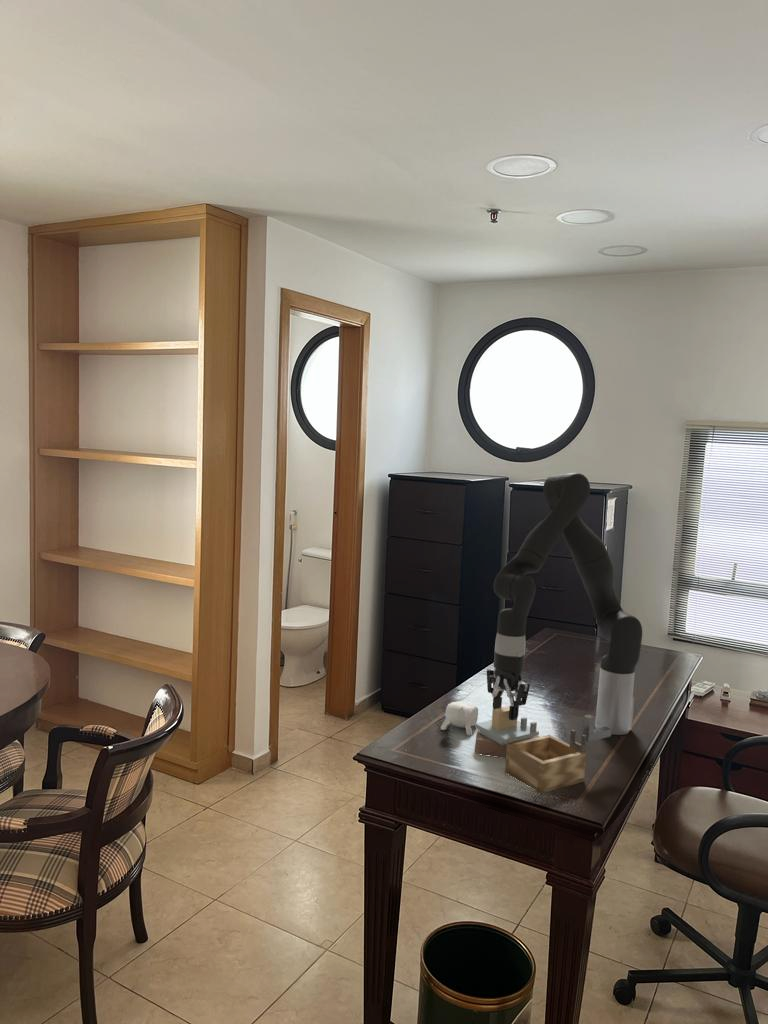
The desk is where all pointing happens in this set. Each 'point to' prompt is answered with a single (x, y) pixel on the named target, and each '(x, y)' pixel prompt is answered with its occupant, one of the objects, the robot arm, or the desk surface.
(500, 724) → the lid
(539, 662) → the desk surface
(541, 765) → the wooden box
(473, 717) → the white animal figurine
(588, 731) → the grey angled block
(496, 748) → the brick
